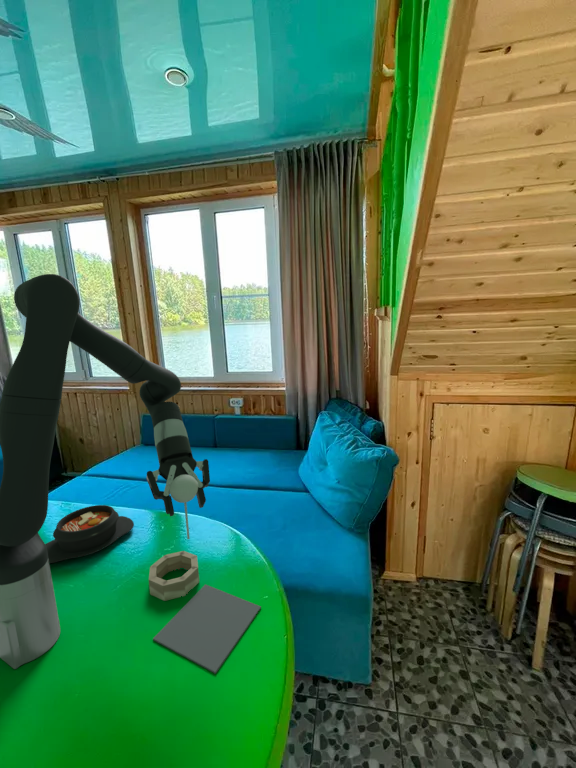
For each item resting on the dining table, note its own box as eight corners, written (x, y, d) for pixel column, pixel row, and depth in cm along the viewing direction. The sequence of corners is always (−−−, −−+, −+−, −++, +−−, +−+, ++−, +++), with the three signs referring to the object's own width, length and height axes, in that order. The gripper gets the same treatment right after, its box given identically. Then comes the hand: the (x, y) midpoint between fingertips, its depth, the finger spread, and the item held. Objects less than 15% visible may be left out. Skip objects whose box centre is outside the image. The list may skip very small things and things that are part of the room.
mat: (215, 673, 61) (215, 672, 60) (153, 640, 68) (153, 638, 68) (261, 608, 75) (260, 606, 75) (205, 585, 82) (205, 584, 82)
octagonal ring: (175, 606, 76) (173, 590, 75) (140, 590, 81) (138, 575, 80) (208, 573, 86) (207, 559, 85) (175, 560, 91) (174, 547, 91)
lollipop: (185, 551, 70) (179, 484, 68) (168, 541, 74) (162, 477, 71) (208, 535, 75) (203, 473, 73) (191, 527, 78) (186, 467, 76)
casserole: (44, 581, 85) (39, 551, 84) (34, 548, 99) (30, 522, 97) (143, 537, 102) (140, 512, 101) (123, 514, 116) (120, 492, 114)
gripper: (140, 440, 74) (152, 514, 65) (204, 429, 81) (222, 495, 72) (139, 455, 79) (151, 526, 71) (199, 444, 86) (216, 507, 78)
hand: (187, 510), depth 71 cm, fingers closed on lollipop, 5 cm apart
